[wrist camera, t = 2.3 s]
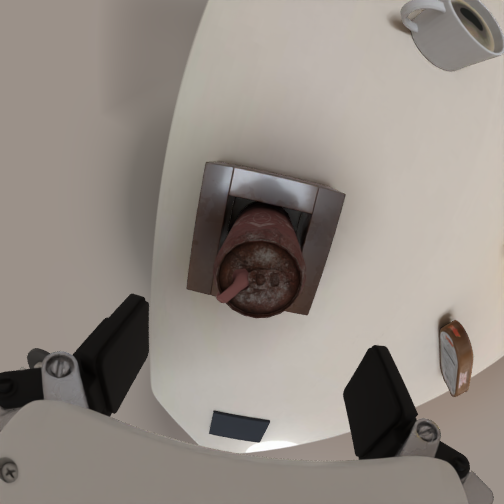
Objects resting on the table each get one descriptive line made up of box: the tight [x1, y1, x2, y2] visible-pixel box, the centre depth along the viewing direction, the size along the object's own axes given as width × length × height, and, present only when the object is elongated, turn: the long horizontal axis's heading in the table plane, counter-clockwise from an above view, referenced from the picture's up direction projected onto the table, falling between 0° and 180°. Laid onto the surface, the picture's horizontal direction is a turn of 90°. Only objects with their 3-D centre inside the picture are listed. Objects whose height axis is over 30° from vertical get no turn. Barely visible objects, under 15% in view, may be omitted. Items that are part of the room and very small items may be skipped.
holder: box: [187, 162, 345, 315], centre depth 27 cm, size 12×12×6 cm
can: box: [213, 201, 306, 318], centre depth 23 cm, size 6×6×14 cm
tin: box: [439, 320, 473, 397], centre depth 30 cm, size 15×3×8 cm, turn 27°
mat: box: [209, 411, 270, 442], centre depth 42 cm, size 10×8×1 cm
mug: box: [401, 0, 504, 71], centre depth 15 cm, size 11×10×10 cm
